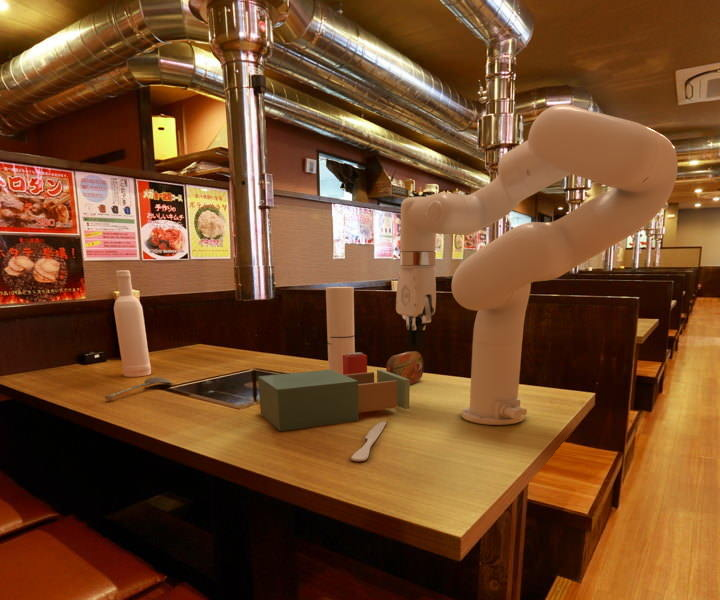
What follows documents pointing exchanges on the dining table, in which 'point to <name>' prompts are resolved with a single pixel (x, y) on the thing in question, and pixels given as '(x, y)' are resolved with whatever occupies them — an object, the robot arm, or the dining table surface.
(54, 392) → the dining table surface
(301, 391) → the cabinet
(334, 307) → the cylindrical container
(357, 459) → the butter knife
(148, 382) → the soupspoon
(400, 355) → the tin
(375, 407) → the drawer
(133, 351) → the bottle
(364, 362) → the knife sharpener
